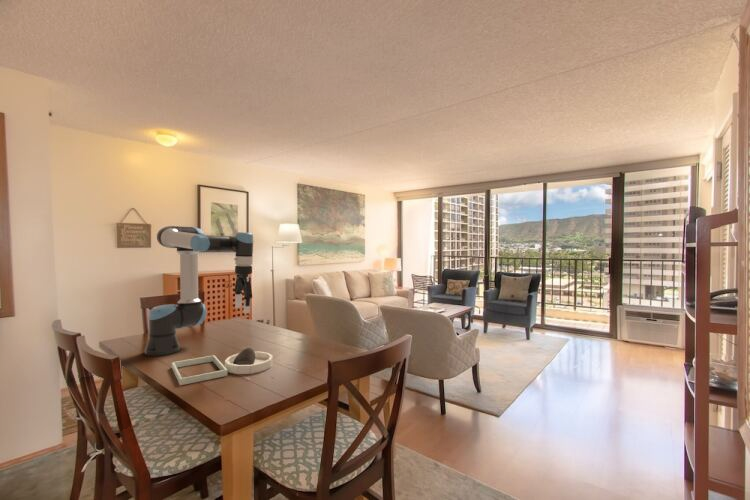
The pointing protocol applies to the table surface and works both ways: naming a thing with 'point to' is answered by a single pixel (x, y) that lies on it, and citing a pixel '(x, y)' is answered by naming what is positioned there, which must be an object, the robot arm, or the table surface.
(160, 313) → the robot arm
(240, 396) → the table surface
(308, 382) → the table surface
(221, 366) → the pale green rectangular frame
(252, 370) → the bowl
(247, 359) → the stone
